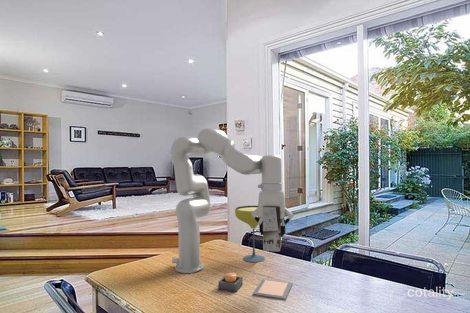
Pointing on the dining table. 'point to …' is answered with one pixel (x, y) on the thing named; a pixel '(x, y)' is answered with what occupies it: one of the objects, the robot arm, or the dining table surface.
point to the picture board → (273, 289)
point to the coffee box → (271, 228)
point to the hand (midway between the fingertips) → (272, 234)
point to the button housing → (230, 285)
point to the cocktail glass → (245, 216)
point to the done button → (230, 277)
